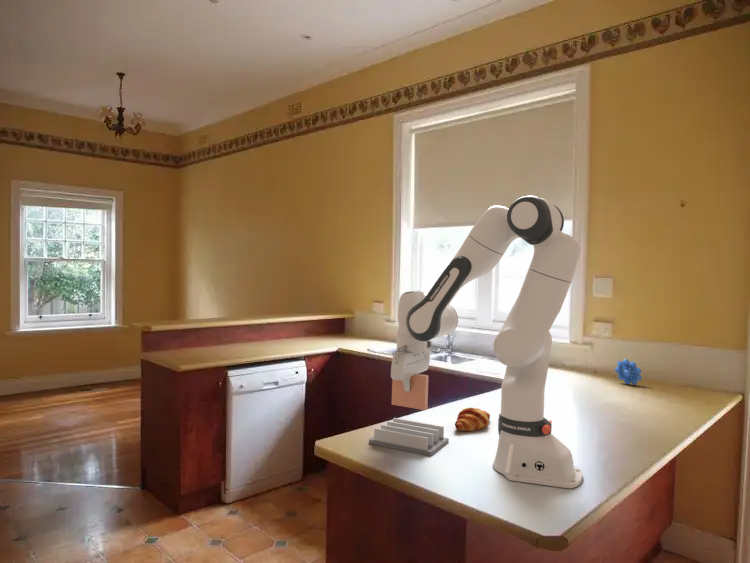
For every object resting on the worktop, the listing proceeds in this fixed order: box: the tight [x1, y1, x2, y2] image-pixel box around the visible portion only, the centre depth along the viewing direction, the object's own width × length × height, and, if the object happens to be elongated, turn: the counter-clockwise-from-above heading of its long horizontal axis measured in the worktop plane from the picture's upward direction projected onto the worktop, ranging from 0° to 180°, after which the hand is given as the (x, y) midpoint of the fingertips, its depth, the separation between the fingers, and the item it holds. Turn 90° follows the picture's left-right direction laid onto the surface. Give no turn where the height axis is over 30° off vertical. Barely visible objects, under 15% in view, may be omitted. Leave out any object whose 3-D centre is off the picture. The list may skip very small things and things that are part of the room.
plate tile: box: [391, 373, 429, 411], centre depth 158 cm, size 11×2×10 cm, turn 61°
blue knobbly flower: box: [614, 358, 642, 386], centre depth 248 cm, size 12×7×12 cm, turn 54°
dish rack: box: [368, 417, 449, 457], centre depth 159 cm, size 20×14×5 cm
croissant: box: [454, 407, 491, 432], centre depth 177 cm, size 21×10×8 cm, turn 141°
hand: (409, 389), depth 158 cm, fingers closed on plate tile, 2 cm apart
